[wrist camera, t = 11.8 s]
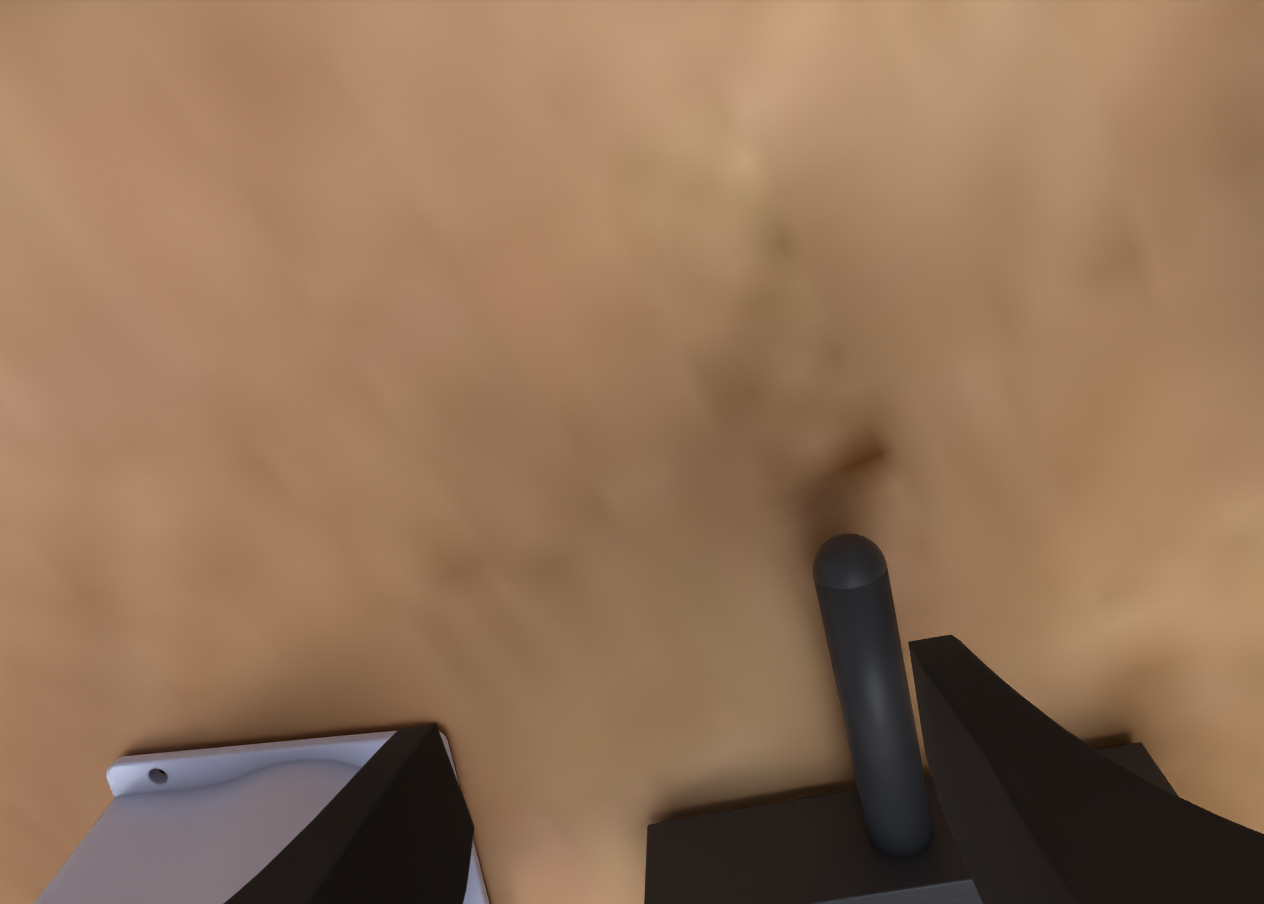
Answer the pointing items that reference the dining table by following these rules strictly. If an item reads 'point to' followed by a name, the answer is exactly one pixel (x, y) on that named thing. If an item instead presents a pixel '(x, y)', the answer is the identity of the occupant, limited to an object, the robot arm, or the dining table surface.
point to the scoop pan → (848, 821)
